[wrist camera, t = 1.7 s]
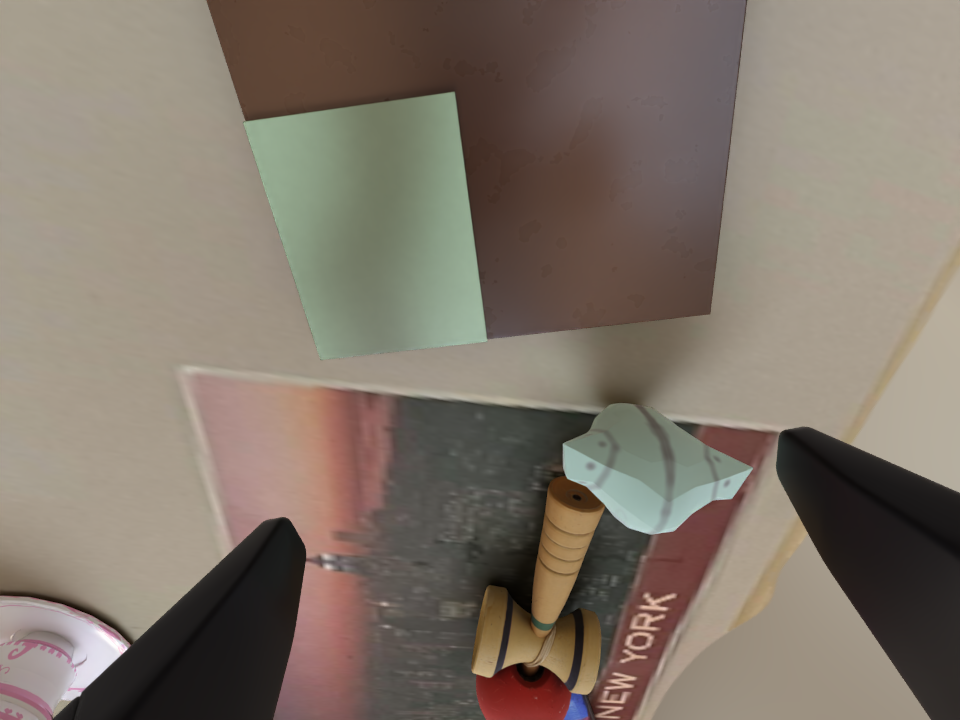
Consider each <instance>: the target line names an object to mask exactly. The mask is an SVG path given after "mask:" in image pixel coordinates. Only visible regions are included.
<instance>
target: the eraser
mask: <svg viewBox="0 0 960 720" xmlns="http://www.w3.org/2000/svg"><path fill="white" fill-rule="evenodd" d="M564 720H596V719H595V716H594V713H593V711H592V708H591V705H590V702H589V699H588V697H587V695H583V694H576V693H571V700H570V705H569V709H568V711H567V714H566V716H565V718H564Z"/></svg>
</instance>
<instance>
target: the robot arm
mask: <svg viewBox="0 0 960 720" xmlns="http://www.w3.org/2000/svg"><path fill="white" fill-rule="evenodd" d="M776 470H777V474H778V477H779V480H780V482H781V484H782V486H783V487H784V489H785V491H786V493H787V495H788V497H789V499H790V501H791V502H792V504H793V506H794V508H795V510H796V512H797V514H798V515H799V517H800V519H801V521H802V523H803V525H804V527H805V528H806V530H807V532H808V534H809V536H810V538H811V540H812V541H813V543H814V545H815V547H816V548H817V551H818V552H819V554H820V556H821V557H822V559H823V561H824V562H825V564H826V566H827V567H828V569H829V570H830V572H831V573H832V575H833V576H834V578H835V579H836V581H837V582H838V583H839V585H840V587H841V588H842V590H843V591H844V593H845V594H846V595H847V597H848V598H849V600H850V601H851V603H852V604H853V606H854V607H855V609H856V610H857V612H858V613H859V614H860V616H861V618H862V619H863V620H864V622H865V623H866V625H867V626H868V628H869V629H870V630H871V632H872V634H873V635H874V637H875V638H876V640H877V641H878V642H879V644H880V645H881V647H882V648H883V650H884V651H885V653H886V654H887V655H888V657H889V659H890V660H891V661H892V663H893V664H894V666H895V667H896V669H897V670H898V672H899V673H900V675H901V676H902V678H903V679H904V681H905V682H906V683H907V685H908V686H909V688H910V689H911V691H912V692H913V694H914V695H915V697H916V698H917V700H918V701H919V703H920V704H921V706H922V707H923V708H924V710H925V711H926V713H927V714H928V716H929V717H930V719H931V720H960V493H959V492H956V491H954V490H952V489H949V488H947V487H945V486H943V485H940V484H938V483H936V482H934V481H931V480H929V479H927V478H924V477H922V476H919V475H917V474H915V473H913V472H911V471H908V470H906V469H904V468H902V467H899V466H897V465H895V464H892V463H890V462H888V461H886V460H883V459H881V458H879V457H876V456H874V455H872V454H870V453H867V452H865V451H862V450H860V449H858V448H856V447H854V446H851V445H849V444H847V443H844V442H842V441H840V440H838V439H835V438H833V437H831V436H828V435H826V434H824V433H822V432H819V431H817V430H815V429H812V428H809V427H799V428H793V429H788V430H784V431H782V432H781V433H780V435H779V440H778V451H777V462H776ZM305 562H306V549H305V545H304V543H303V542H302V540H301V538H300V536H299V535H298V533H297V531H296V529H295V528H294V526H293V524H292V523H291V521H290V520H289V519H288V518H286V517H281V518H275V519H269V520H266V521H264V522H263V523H261V524H260V525H259V526H258V527H257V528H256V529H255V530H254V531H253V532H252V533H251V534H250V535H249V536H247V537H246V538H245V539H244V540H243V541H242V542H241V543H240V544H239V545H238V546H237V547H236V548H235V549H234V550H233V551H231V552H230V553H229V554H228V555H227V556H226V557H225V558H224V559H223V560H222V561H221V562H220V563H219V564H218V565H217V566H215V567H214V568H213V569H212V570H211V571H210V572H209V573H208V574H207V575H206V576H205V577H204V578H203V579H202V580H201V581H199V582H198V583H197V584H196V585H195V586H194V587H193V588H192V589H191V590H190V591H189V592H188V593H187V594H186V595H185V596H183V597H182V598H181V599H180V600H179V601H178V602H177V603H176V604H175V605H174V606H173V607H172V608H171V609H170V610H169V611H167V612H166V613H165V614H164V615H163V616H162V617H161V618H160V619H159V620H158V621H157V622H156V623H155V624H154V625H152V626H151V627H150V628H149V629H148V630H147V631H146V632H145V633H144V634H143V635H142V636H141V637H140V638H139V639H138V640H136V641H135V642H134V643H133V644H132V645H131V646H130V647H129V648H128V649H127V650H126V651H125V652H124V653H123V654H122V655H120V656H119V657H118V658H117V659H116V660H115V661H114V662H113V663H112V664H111V665H110V666H109V667H108V668H107V669H106V670H104V671H103V672H102V673H101V674H100V675H99V676H98V677H97V678H96V679H95V680H94V681H93V682H92V683H91V684H90V685H88V686H87V687H86V688H85V689H84V690H83V691H82V692H81V695H80V696H78V697H76V698H74V699H73V700H72V701H71V702H70V703H69V704H68V705H67V706H66V707H65V708H64V709H63V710H62V711H61V712H60V713H59V714H57V715H56V716H55V717H54V718H53V719H52V720H273V717H274V713H275V709H276V705H277V701H278V698H279V694H280V690H281V686H282V682H283V678H284V674H285V670H286V666H287V662H288V659H289V655H290V651H291V646H292V642H293V638H294V632H295V627H296V621H297V614H298V608H299V601H300V595H301V588H302V582H303V575H304V569H305Z"/></svg>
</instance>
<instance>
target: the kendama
mask: <svg viewBox="0 0 960 720" xmlns="http://www.w3.org/2000/svg"><path fill="white" fill-rule="evenodd" d="M604 508H605V505H604V503H603V502H601V501H600V500H599V499H598V498H597V497H596V496H595V495H594V494H593V493H592V492H591V491H590V490H589V489H588V488H587V487H586V486H584V485H582V484H579V483H577V482H574V481H572V480H569V479H567V477H566V476H560V477H557V478H554V479H553V480H552V481H551V482H550V484H549V486H548V493H547V501H546V509H545V515H544V522H543V528H542V534H541V540H540V545H539V552H538V556H537V562H536V567H535V575H534V583H533V596H532V609H531V614H530V613H528V612H526V611H525V610H524V609H522V608H521V607H520V606H519V605H518V604H517V603H516V602H515V601H514V600H513V599H512V597H511V596H510V594H509V593H508V591H507V589H506V588H504V587H498V586H492V585H489V586H488V587H487V589H486V591H485V595H484V599H483V603H482V607H481V612H480V617H479V622H478V627H477V633H476V638H475V644H474V651H473V657H472V672H473V673H474V674H477V676H476V691H477V697H478V702H479V705H480V708H481V710H482V712H483V715H484V716H485V718H486V720H564V718H565V716H566V714H567V711H568V709H569V705H570V700H571V693H576V694H583V695H587V694H589V693H590V692H591V691H592V689H593V687H594V685H595V682H596V678H597V674H598V669H599V664H600V652H601V631H600V624H599V620H598V618H597V615H596V614H595V612H592V611H589V610H586V609H582V608H578V609H577V610H575V611H574V612H572V613H570V614H569V615H567V616H564V617H562V618H558V616H559V614H560V613H561V611H562V609H563V607H564V605H565V603H566V601H567V599H568V596H569V594H570V592H571V590H572V588H573V585H574V583H575V580H576V578H577V575H578V572H579V570H580V567H581V564H582V562H583V559H584V556H585V554H586V551H587V549H588V546H589V544H590V541H591V539H592V536H593V534H594V531H595V528H596V526H597V524H598V522H599V520H600V517H601V515H602V513H603V510H604Z"/></svg>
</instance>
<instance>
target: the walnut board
mask: <svg viewBox="0 0 960 720" xmlns="http://www.w3.org/2000/svg"><path fill="white" fill-rule="evenodd" d="M207 3H208V6H209V10H210V13H211V16H212V19H213V22H214V25H215V28H216V31H217V34H218V37H219V40H220V44H221V47H222V50H223V53H224V56H225V59H226V62H227V65H228V68H229V71H230V74H231V78H232V81H233V84H234V87H235V90H236V93H237V96H238V99H239V102H240V105H241V108H242V112H243V115H244V118H245V121H244V122H243V124H244V127H245V130H246V133H247V136H248V139H249V142H250V146H251V149H252V152H253V155H254V158H255V161H256V164H257V167H258V170H259V173H260V176H261V179H262V182H263V185H264V188H265V191H266V195H267V198H268V201H269V204H270V207H271V210H272V213H273V216H274V219H275V222H276V225H277V228H278V231H279V234H280V237H281V240H282V244H283V247H284V250H285V253H286V256H287V259H288V262H289V265H290V268H291V271H292V274H293V277H294V280H295V283H296V286H297V289H298V293H299V296H300V299H301V302H302V305H303V308H304V311H305V314H306V317H307V320H308V323H309V326H310V329H311V332H312V335H313V338H314V342H315V345H316V348H317V351H318V354H319V357H320V360H327V359H336V358H345V357H354V356H363V355H372V354H381V353H390V352H399V351H408V350H417V349H426V348H435V347H444V346H453V345H462V344H470V343H479V342H487V339H493V338H502V337H511V336H520V335H529V334H538V333H546V332H555V331H564V330H573V329H582V328H591V327H600V326H609V325H618V324H627V323H636V322H645V321H654V320H663V319H672V318H681V317H690V316H699V315H708V314H710V312H711V304H712V295H713V286H714V278H715V269H716V261H717V252H718V244H719V235H720V227H721V218H722V210H723V201H724V193H725V184H726V176H727V167H728V158H729V150H730V141H731V133H732V124H733V116H734V107H735V99H736V90H737V82H738V73H739V65H740V56H741V48H742V39H743V31H744V22H745V13H746V5H747V0H207Z"/></svg>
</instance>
